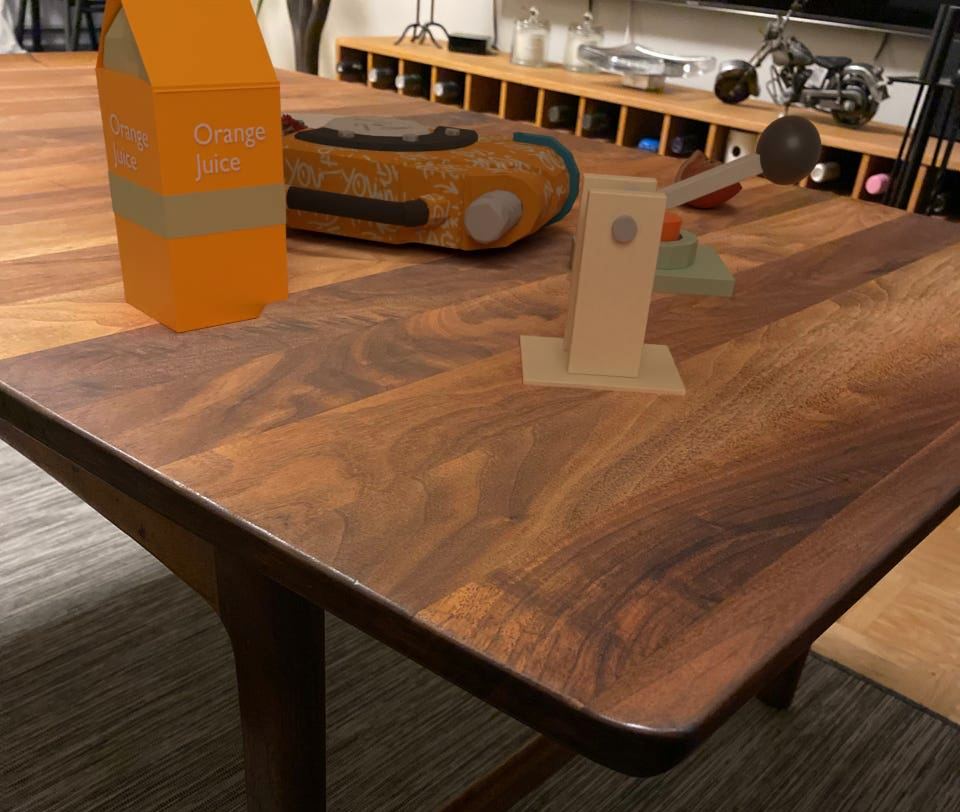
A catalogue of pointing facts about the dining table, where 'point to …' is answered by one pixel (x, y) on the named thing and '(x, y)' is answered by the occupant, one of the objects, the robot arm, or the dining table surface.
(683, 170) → the broken clay pot piece
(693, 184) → the lever
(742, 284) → the dining table surface
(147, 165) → the orange juice
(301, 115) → the plated food
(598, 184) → the lever stand
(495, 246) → the orange patterned backpack
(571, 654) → the dining table surface
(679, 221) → the button
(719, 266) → the button housing
